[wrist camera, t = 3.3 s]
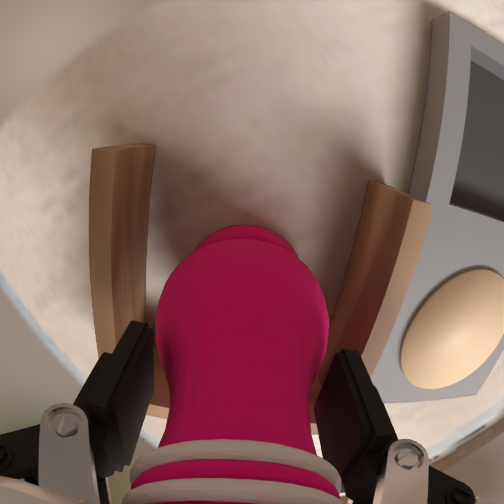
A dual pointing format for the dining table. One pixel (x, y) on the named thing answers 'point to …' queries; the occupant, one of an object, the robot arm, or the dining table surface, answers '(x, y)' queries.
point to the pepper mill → (239, 378)
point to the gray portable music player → (454, 227)
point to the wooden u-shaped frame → (352, 292)
